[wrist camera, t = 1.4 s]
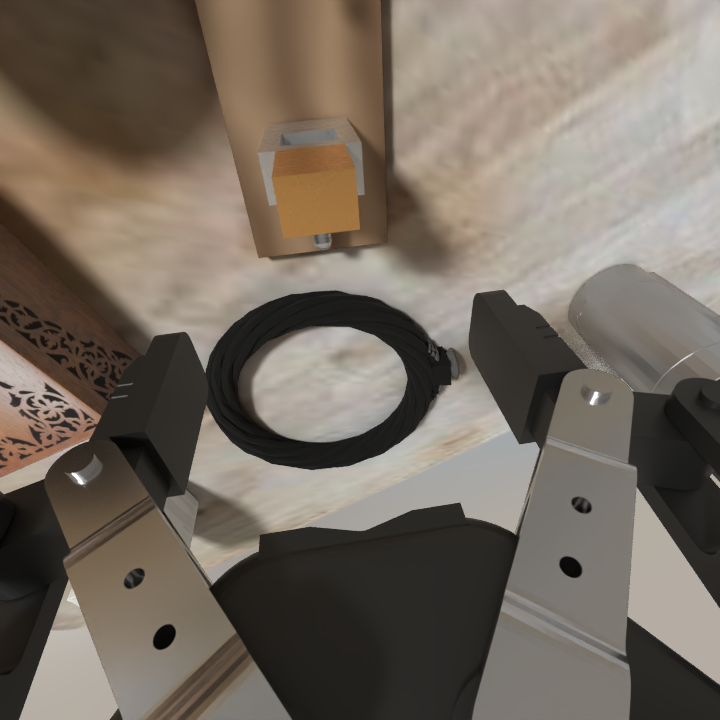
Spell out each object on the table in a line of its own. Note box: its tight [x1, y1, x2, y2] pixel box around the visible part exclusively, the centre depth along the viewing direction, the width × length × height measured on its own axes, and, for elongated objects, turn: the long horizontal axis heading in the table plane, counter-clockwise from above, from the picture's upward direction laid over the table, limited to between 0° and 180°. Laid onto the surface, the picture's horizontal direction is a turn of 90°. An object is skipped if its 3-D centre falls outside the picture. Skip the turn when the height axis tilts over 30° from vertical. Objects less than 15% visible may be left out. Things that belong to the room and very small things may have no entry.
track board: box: [195, 0, 388, 258], centre depth 22 cm, size 12×34×16 cm, turn 4°
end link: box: [258, 116, 365, 250], centre depth 28 cm, size 6×9×15 cm, turn 4°
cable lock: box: [205, 291, 459, 470], centre depth 49 cm, size 28×4×30 cm
